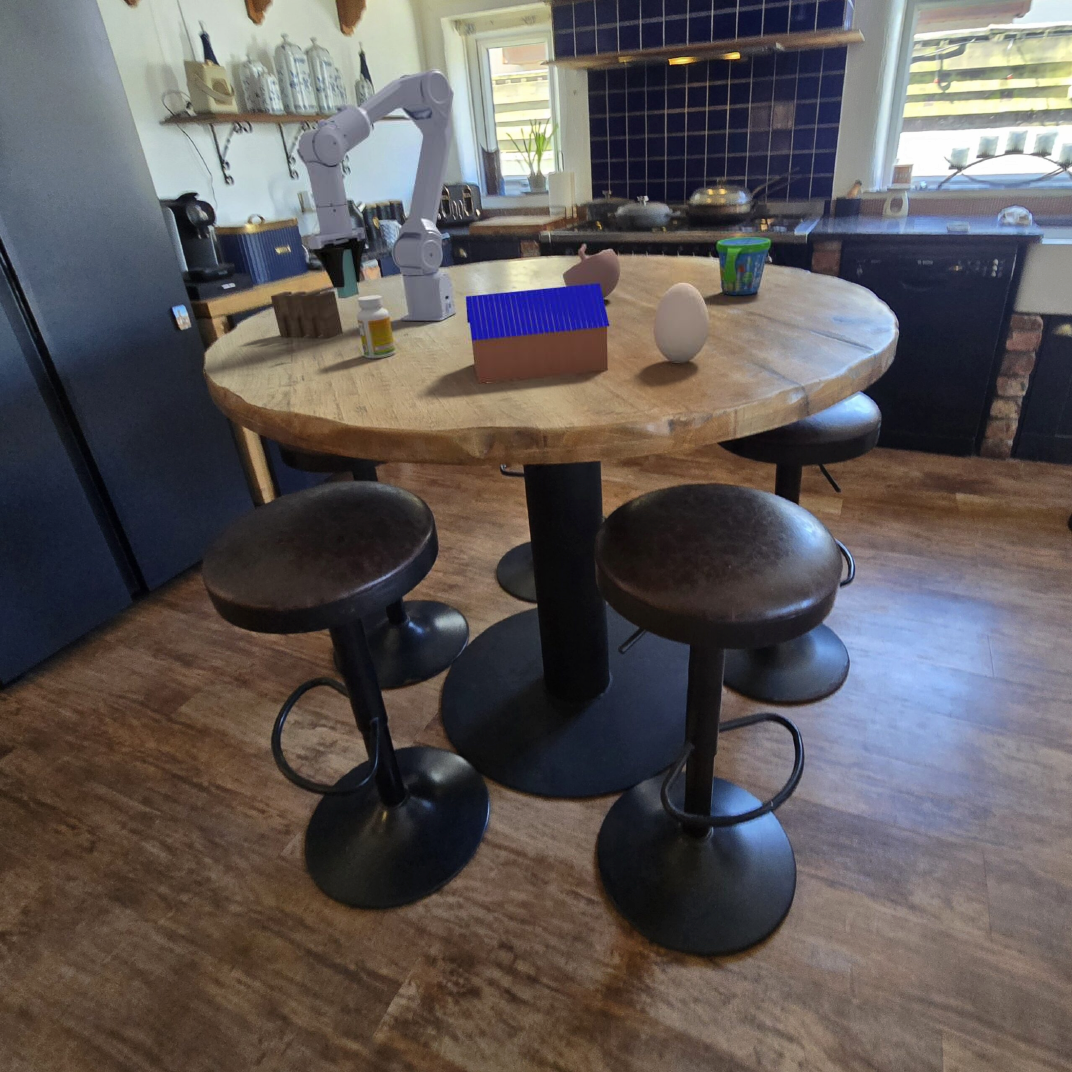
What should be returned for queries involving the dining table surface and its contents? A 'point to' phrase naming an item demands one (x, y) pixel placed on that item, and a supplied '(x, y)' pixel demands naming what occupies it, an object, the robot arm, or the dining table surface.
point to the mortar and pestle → (595, 271)
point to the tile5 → (282, 314)
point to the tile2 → (328, 314)
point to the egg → (681, 323)
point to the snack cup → (742, 264)
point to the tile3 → (311, 314)
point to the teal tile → (348, 277)
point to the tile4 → (296, 314)
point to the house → (538, 332)
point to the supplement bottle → (375, 328)
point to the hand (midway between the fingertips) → (346, 284)
